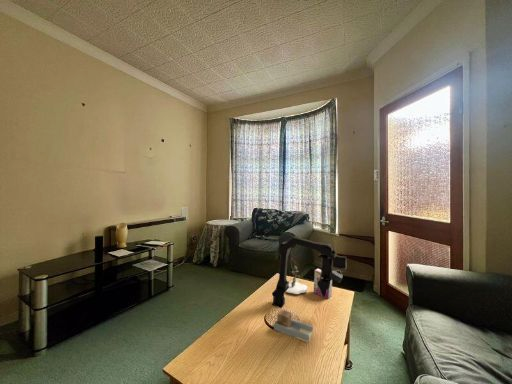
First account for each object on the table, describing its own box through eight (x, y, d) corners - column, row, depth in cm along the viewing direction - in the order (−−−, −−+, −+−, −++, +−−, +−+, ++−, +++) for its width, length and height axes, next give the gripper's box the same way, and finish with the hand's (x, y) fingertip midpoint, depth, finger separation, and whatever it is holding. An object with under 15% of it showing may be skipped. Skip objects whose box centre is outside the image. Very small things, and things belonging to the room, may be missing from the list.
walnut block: (277, 327, 113) (277, 314, 112) (280, 321, 117) (281, 309, 117) (288, 331, 110) (288, 317, 109) (291, 325, 114) (291, 312, 114)
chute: (274, 329, 111) (274, 324, 111) (280, 320, 119) (280, 315, 119) (308, 342, 103) (308, 336, 103) (312, 331, 111) (312, 326, 110)
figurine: (301, 297, 142) (303, 272, 142) (277, 290, 152) (278, 267, 152) (311, 288, 158) (312, 266, 159) (288, 282, 168) (290, 261, 169)
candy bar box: (313, 293, 150) (314, 270, 149) (316, 290, 153) (317, 268, 153) (328, 299, 142) (329, 275, 142) (331, 296, 146) (332, 272, 145)
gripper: (339, 275, 109) (338, 305, 109) (343, 263, 125) (342, 289, 126) (317, 270, 114) (316, 299, 115) (324, 259, 130) (323, 284, 131)
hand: (325, 293), depth 121 cm, fingers open, 9 cm apart
